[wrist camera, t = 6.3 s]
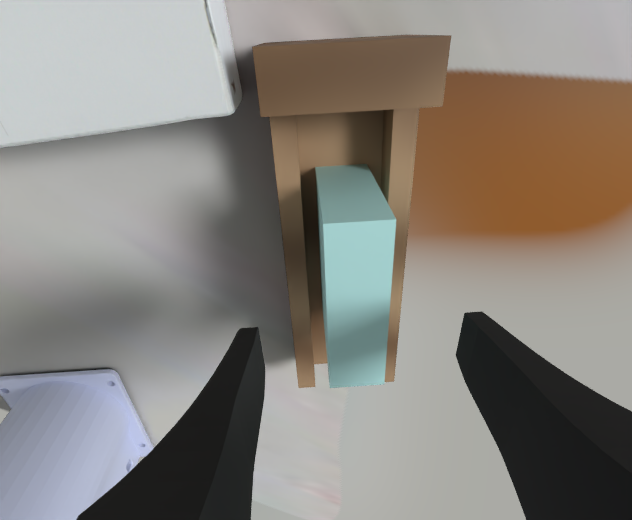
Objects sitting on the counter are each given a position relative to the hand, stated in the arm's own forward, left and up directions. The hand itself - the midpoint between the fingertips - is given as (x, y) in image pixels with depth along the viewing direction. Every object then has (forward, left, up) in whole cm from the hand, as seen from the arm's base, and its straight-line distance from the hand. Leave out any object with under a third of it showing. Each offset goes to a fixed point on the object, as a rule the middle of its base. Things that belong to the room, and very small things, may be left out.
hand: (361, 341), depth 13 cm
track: (0, 0, -8) cm, 8 cm away
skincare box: (+9, +16, -6) cm, 20 cm away
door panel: (0, 0, -7) cm, 7 cm away
